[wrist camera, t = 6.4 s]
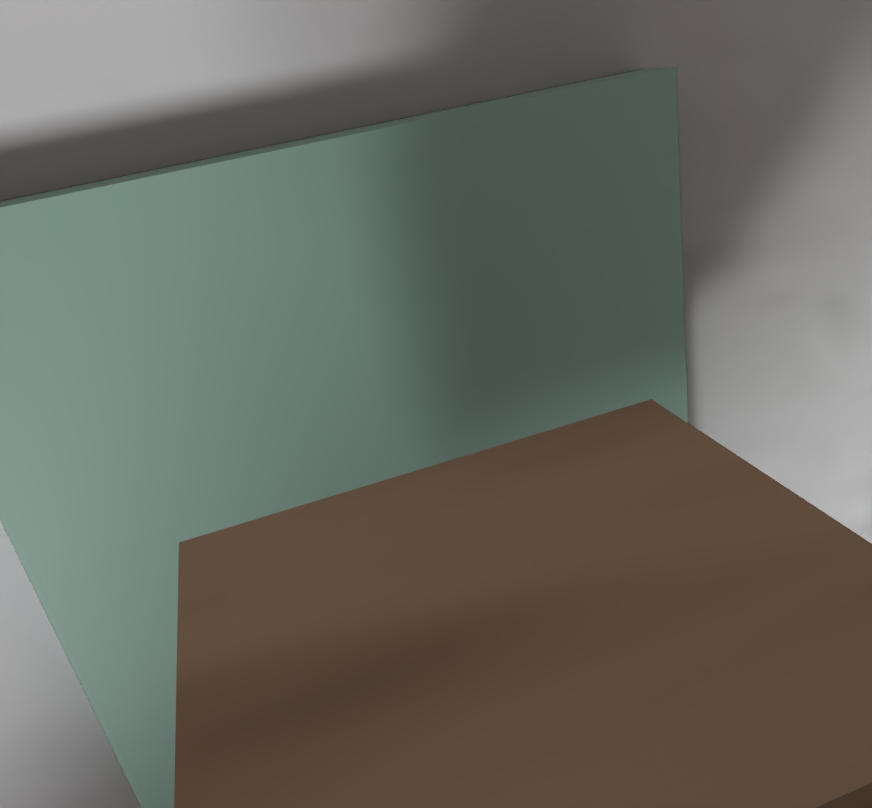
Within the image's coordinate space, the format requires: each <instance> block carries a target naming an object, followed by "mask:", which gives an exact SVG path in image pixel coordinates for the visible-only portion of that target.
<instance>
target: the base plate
mask: <svg viewBox="0 0 872 808" xmlns="http://www.w3.org/2000/svg"><path fill="white" fill-rule="evenodd" d="M650 399H652V400H653V401H655V402H657V403H658V404H660V405H661V406H663V407H664V408H666V409H667V410H669V411H670V412H672V413H673V414H675V415H676V416H678V417H679V418H681V419H682V420H684V421H685V422H687V423H688V402H687V373H686V344H685V314H684V285H683V255H682V226H681V196H680V167H679V137H678V108H677V78H676V67H675V68H655V69H641V70H636V71H632V72H627V73H622V74H617V75H612V76H607V77H602V78H598V79H593V80H588V81H583V82H578V83H573V84H568V85H564V86H559V87H554V88H549V89H544V90H539V91H534V92H530V93H525V94H520V95H515V96H510V97H505V98H500V99H496V100H491V101H486V102H481V103H476V104H471V105H466V106H462V107H457V108H452V109H447V110H442V111H437V112H433V113H428V114H423V115H418V116H413V117H408V118H403V119H399V120H394V121H389V122H384V123H379V124H374V125H369V126H365V127H360V128H355V129H350V130H345V131H340V132H335V133H331V134H326V135H321V136H316V137H311V138H306V139H301V140H297V141H292V142H287V143H282V144H277V145H272V146H267V147H263V148H258V149H253V150H248V151H243V152H238V153H233V154H229V155H224V156H219V157H214V158H209V159H204V160H199V161H195V162H190V163H185V164H180V165H175V166H170V167H166V168H161V169H156V170H151V171H146V172H141V173H136V174H132V175H127V176H122V177H117V178H112V179H107V180H102V181H98V182H93V183H88V184H83V185H78V186H73V187H68V188H64V189H59V190H54V191H49V192H44V193H39V194H34V195H30V196H25V197H20V198H15V199H10V200H5V201H0V521H1V523H2V525H3V527H4V529H5V531H6V533H7V535H8V537H9V539H10V541H11V543H12V545H13V547H14V549H15V551H16V553H17V555H18V557H19V559H20V562H21V564H22V566H23V568H24V570H25V572H26V574H27V576H28V578H29V580H30V582H31V584H32V586H33V588H34V590H35V592H36V594H37V596H38V598H39V600H40V602H41V604H42V606H43V609H44V611H45V613H46V615H47V617H48V619H49V621H50V623H51V625H52V627H53V629H54V631H55V633H56V635H57V637H58V639H59V641H60V643H61V645H62V647H63V649H64V651H65V653H66V656H67V658H68V660H69V662H70V664H71V666H72V668H73V670H74V672H75V674H76V676H77V678H78V680H79V682H80V684H81V686H82V688H83V690H84V692H85V694H86V696H87V698H88V700H89V702H90V705H91V707H92V709H93V711H94V713H95V715H96V717H97V719H98V721H99V723H100V725H101V727H102V729H103V731H104V733H105V735H106V737H107V739H108V741H109V743H110V745H111V747H112V749H113V752H114V754H115V756H116V758H117V760H118V762H119V764H120V766H121V768H122V770H123V772H124V774H125V776H126V778H127V780H128V782H129V784H130V786H131V788H132V790H133V792H134V794H135V796H136V799H137V801H138V803H139V805H140V807H141V808H174V788H175V732H176V676H177V619H178V563H179V542H182V541H185V540H189V539H192V538H195V537H199V536H202V535H205V534H208V533H212V532H215V531H218V530H222V529H225V528H228V527H232V526H235V525H238V524H241V523H245V522H248V521H251V520H255V519H258V518H261V517H264V516H268V515H271V514H274V513H278V512H281V511H284V510H288V509H291V508H294V507H297V506H301V505H304V504H307V503H311V502H314V501H317V500H321V499H324V498H327V497H330V496H334V495H337V494H340V493H344V492H347V491H350V490H354V489H357V488H360V487H363V486H367V485H370V484H373V483H377V482H380V481H383V480H386V479H390V478H393V477H396V476H400V475H403V474H406V473H410V472H413V471H416V470H419V469H423V468H426V467H429V466H433V465H436V464H439V463H443V462H446V461H449V460H452V459H456V458H459V457H462V456H466V455H469V454H472V453H476V452H479V451H482V450H485V449H489V448H492V447H495V446H499V445H502V444H505V443H508V442H512V441H515V440H518V439H522V438H525V437H528V436H532V435H535V434H538V433H541V432H545V431H548V430H551V429H555V428H558V427H561V426H565V425H568V424H571V423H574V422H578V421H581V420H584V419H588V418H591V417H594V416H598V415H601V414H604V413H607V412H611V411H614V410H617V409H621V408H624V407H627V406H630V405H634V404H637V403H640V402H644V401H647V400H650Z"/></svg>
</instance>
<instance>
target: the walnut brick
mask: <svg viewBox="0 0 872 808" xmlns="http://www.w3.org/2000/svg"><path fill="white" fill-rule="evenodd" d="M174 808H872V544H871V543H870V542H868V541H866V540H865V539H863V538H862V537H860V536H859V535H857V534H856V533H854V532H853V531H851V530H850V529H848V528H847V527H845V526H844V525H842V524H841V523H839V522H838V521H836V520H835V519H833V518H831V517H830V516H828V515H827V514H825V513H824V512H822V511H821V510H819V509H818V508H816V507H815V506H813V505H812V504H810V503H809V502H807V501H806V500H804V499H803V498H801V497H800V496H798V495H796V494H795V493H793V492H792V491H790V490H789V489H787V488H786V487H784V486H783V485H781V484H780V483H778V482H777V481H775V480H774V479H772V478H771V477H769V476H768V475H766V474H765V473H763V472H761V471H760V470H758V469H757V468H755V467H754V466H752V465H751V464H749V463H748V462H746V461H745V460H743V459H742V458H740V457H739V456H737V455H736V454H734V453H733V452H731V451H730V450H728V449H726V448H725V447H723V446H722V445H720V444H719V443H717V442H716V441H714V440H713V439H711V438H710V437H708V436H707V435H705V434H704V433H702V432H701V431H699V430H698V429H696V428H695V427H693V426H691V425H690V424H688V423H687V422H685V421H684V420H682V419H681V418H679V417H678V416H676V415H675V414H673V413H672V412H670V411H669V410H667V409H666V408H664V407H663V406H661V405H660V404H658V403H657V402H655V401H653V400H652V399H650V400H647V401H644V402H640V403H637V404H634V405H630V406H627V407H624V408H621V409H617V410H614V411H611V412H607V413H604V414H601V415H598V416H594V417H591V418H588V419H584V420H581V421H578V422H574V423H571V424H568V425H565V426H561V427H558V428H555V429H551V430H548V431H545V432H541V433H538V434H535V435H532V436H528V437H525V438H522V439H518V440H515V441H512V442H508V443H505V444H502V445H499V446H495V447H492V448H489V449H485V450H482V451H479V452H476V453H472V454H469V455H466V456H462V457H459V458H456V459H452V460H449V461H446V462H443V463H439V464H436V465H433V466H429V467H426V468H423V469H419V470H416V471H413V472H410V473H406V474H403V475H400V476H396V477H393V478H390V479H386V480H383V481H380V482H377V483H373V484H370V485H367V486H363V487H360V488H357V489H354V490H350V491H347V492H344V493H340V494H337V495H334V496H330V497H327V498H324V499H321V500H317V501H314V502H311V503H307V504H304V505H301V506H297V507H294V508H291V509H288V510H284V511H281V512H278V513H274V514H271V515H268V516H264V517H261V518H258V519H255V520H251V521H248V522H245V523H241V524H238V525H235V526H232V527H228V528H225V529H222V530H218V531H215V532H212V533H208V534H205V535H202V536H199V537H195V538H192V539H189V540H185V541H182V542H179V563H178V619H177V676H176V732H175V788H174Z"/></svg>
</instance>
